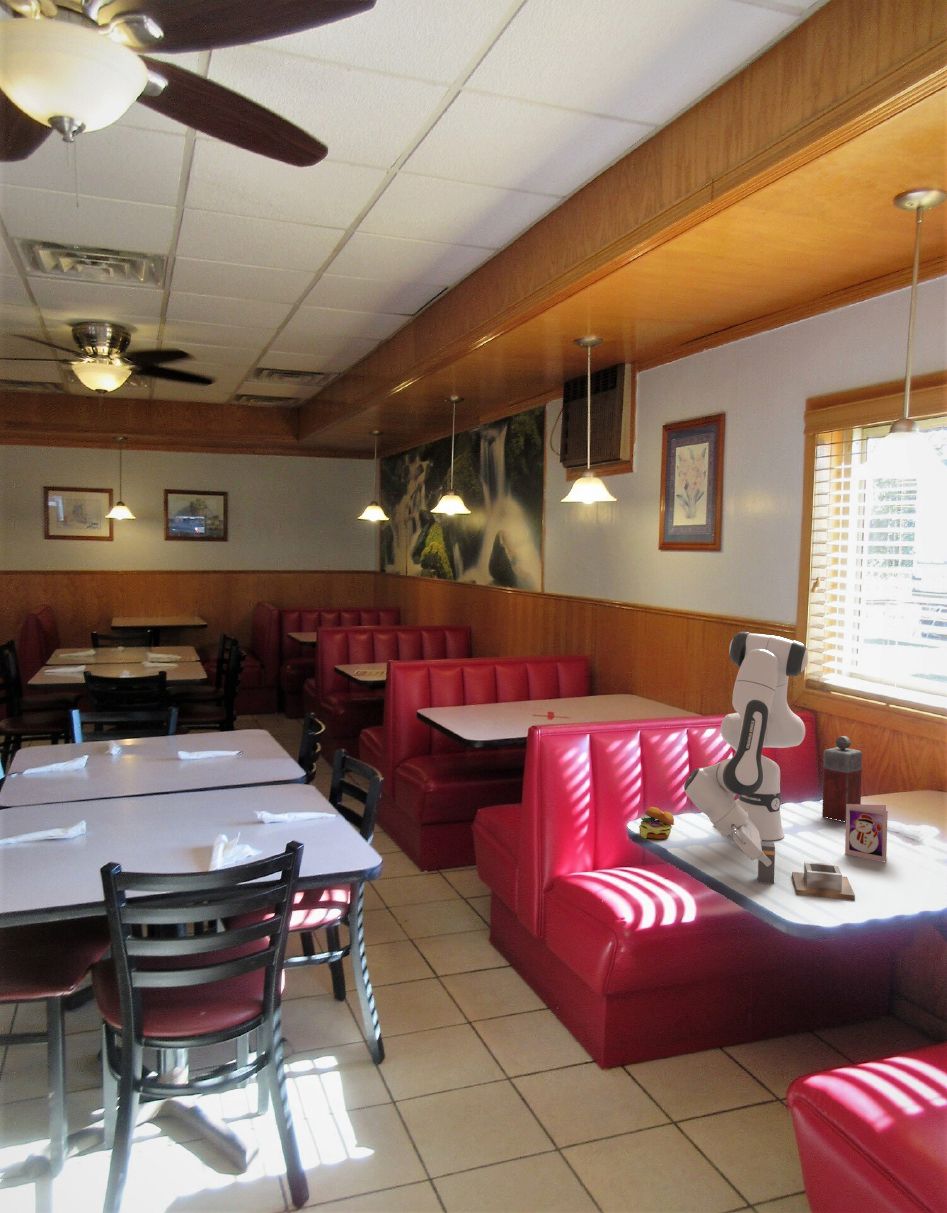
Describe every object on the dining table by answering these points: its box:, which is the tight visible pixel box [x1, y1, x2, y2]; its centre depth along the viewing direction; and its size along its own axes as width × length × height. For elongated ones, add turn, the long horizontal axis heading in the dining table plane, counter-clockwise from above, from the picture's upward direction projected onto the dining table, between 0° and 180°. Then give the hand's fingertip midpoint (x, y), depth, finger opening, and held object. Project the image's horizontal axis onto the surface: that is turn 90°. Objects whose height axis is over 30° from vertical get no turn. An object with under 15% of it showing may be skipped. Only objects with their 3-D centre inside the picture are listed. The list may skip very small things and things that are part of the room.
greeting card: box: [844, 803, 889, 863], centre depth 257 cm, size 11×7×15 cm, turn 51°
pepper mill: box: [821, 735, 863, 822], centre depth 297 cm, size 9×11×28 cm
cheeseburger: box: [638, 806, 675, 840], centre depth 276 cm, size 10×11×10 cm
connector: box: [757, 840, 776, 885], centre depth 236 cm, size 4×4×10 cm
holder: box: [791, 861, 856, 901], centre depth 231 cm, size 14×14×5 cm
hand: (768, 859), depth 236 cm, fingers open, 7 cm apart
